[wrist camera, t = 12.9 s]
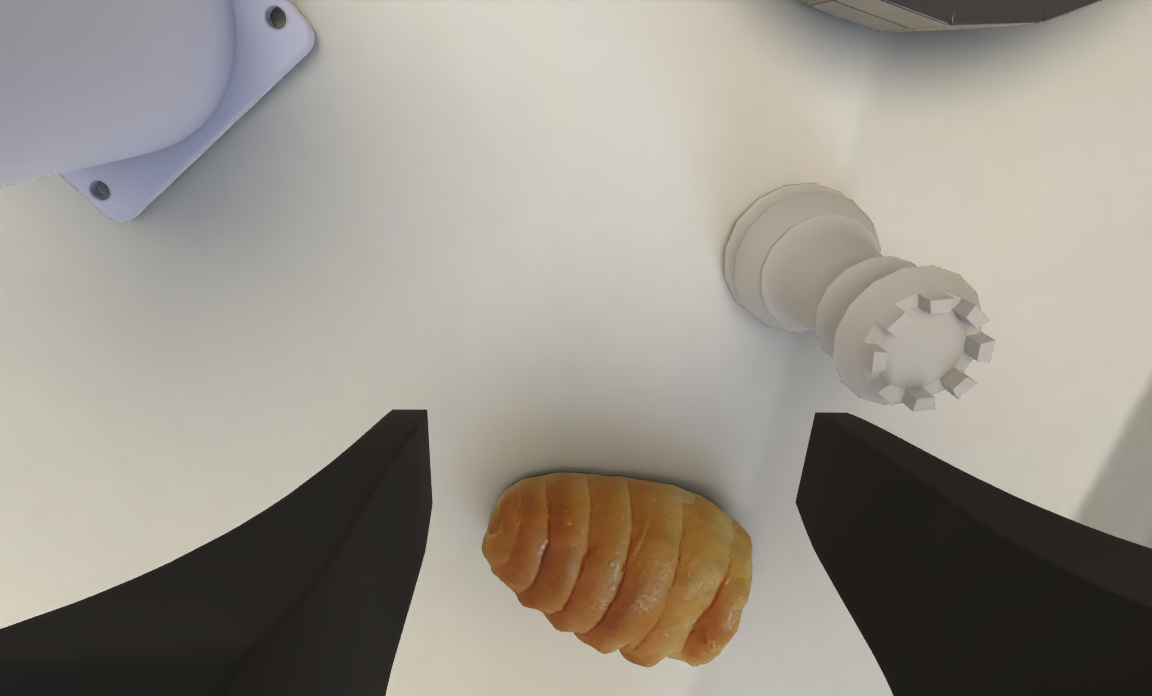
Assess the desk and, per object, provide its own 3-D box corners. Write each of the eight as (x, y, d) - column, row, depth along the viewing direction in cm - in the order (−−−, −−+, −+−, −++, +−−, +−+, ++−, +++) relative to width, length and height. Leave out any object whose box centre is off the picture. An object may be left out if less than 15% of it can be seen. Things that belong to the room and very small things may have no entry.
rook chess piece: (816, 148, 19) (991, 200, 12) (883, 261, 21) (1074, 370, 13) (692, 241, 20) (784, 343, 13) (765, 342, 22) (885, 485, 14)
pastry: (461, 567, 25) (449, 649, 21) (525, 423, 22) (524, 489, 19) (678, 626, 27) (700, 710, 23) (757, 500, 24) (795, 572, 21)
